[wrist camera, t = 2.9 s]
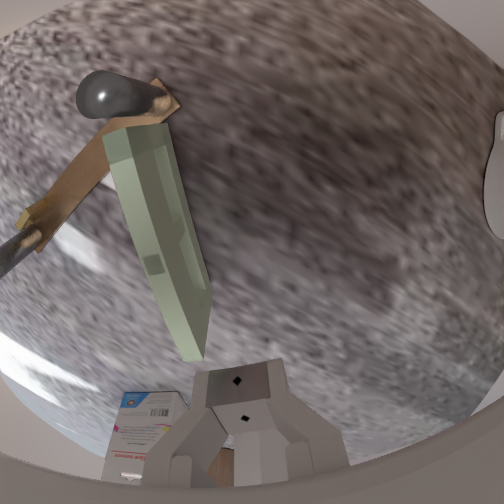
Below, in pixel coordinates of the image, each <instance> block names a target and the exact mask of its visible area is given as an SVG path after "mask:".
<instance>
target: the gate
mask: <svg viewBox="0 0 504 504" xmlns="http://www.w3.org/2000/svg"><path fill="white" fill-rule="evenodd" d="M102 139H103V143H104V147H105V151H106V155H107V159H108V162H109V166H110V170H111V173H112V177H113V180H114V184H115V187H116V190H117V194H118V197H119V200H120V203H121V206H122V210H123V213H124V216H125V219H126V222H127V225H128V228H129V231H130V234H131V236H132V239H133V242H134V245H135V248H136V250H137V253H138V256H139V259H140V261H141V264H142V267H143V269H144V272H145V274H146V277H147V279H148V282H149V284H150V287H151V289H152V292H153V294H154V297H155V299H156V301H157V304H158V306H159V309H160V311H161V313H162V316H163V318H164V320H165V322H166V325H167V327H168V329H169V331H170V333H171V336H172V338H173V340H174V342H175V344H176V346H177V349H178V351H179V353H180V355H181V357H182V359H183V361H184V362H188V361H198V360H203V359H204V351H205V344H206V337H207V330H208V323H209V316H210V309H211V303H212V296H213V290H212V287H211V283H210V280H209V277H208V274H207V270H206V267H205V264H204V260H203V257H202V253H201V250H200V246H199V243H198V239H197V236H196V232H195V229H194V225H193V222H192V218H191V214H190V211H189V207H188V203H187V200H186V196H185V192H184V188H183V185H182V181H181V177H180V173H179V169H178V165H177V161H176V157H175V153H174V149H173V145H172V140H171V136H170V132H169V128H168V123H160V124H149V125H139V126H130V127H124V128H122V129H119V130H116V131H113V132H111V133H108V134H105V135H103V136H102Z"/></svg>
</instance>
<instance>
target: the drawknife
mask: <svg viewBox="0 0 504 504" xmlns="http://www.w3.org/2000/svg"><path fill="white" fill-rule="evenodd" d="M76 104H77V108H78V110H79V111H80V113H81V114H82V115H83V116H85V117H87V118H90V119H99V118H112V119H111V120H110V121H109V122H108V123H107V124H106V125H105V126H104V127H103V128H102V129H101V130H100V131H99V132H98V133H97V134H96V135H95V136H94V137H93V138H92V139H91V141H90V142H89V143H88V144H87V145H86V146H85V147H84V148H83V149H82V151H81V152H80V153H79V154H78V155H77V156H76V158H75V159H74V160H73V161H72V162H71V163H70V165H69V166H68V167H67V168H66V170H65V171H64V172H63V173H62V175H61V176H60V177H59V178H58V180H57V181H56V182H55V183H54V185H53V186H52V187H51V189H50V190H49V191H48V193H47V194H46V195H45V197H44V198H43V199H42V200H40V201H38V202H37V203H35V204H33V205H31V206H29V207H28V208H26V209H25V210H24V212H23V213H22V215H21V216H20V218H19V220H18V221H17V223H16V224H15V226H16V227H17V228H18V230H19V231H21V230H22V231H21V232H20V233H18V234H17V235H15V236H14V237H12V238H11V239H10V240H8V241H7V242H6V243H4V244H3V245H1V246H0V279H1V278H3V277H4V276H5V275H6V274H7V273H8V272H9V271H10V270H11V269H13V268H14V267H15V266H16V265H17V264H18V263H19V262H21V261H22V260H23V259H24V258H25V257H26V256H28V255H29V254H30V253H31V252H32V251H34V250H35V251H36V252H37V253H38V254H39V253H40V252H41V251H42V250H43V249H44V247H45V246H46V245H47V243H48V242H49V241H50V239H51V238H52V237H53V236H54V234H55V233H56V232H57V231H58V229H59V228H60V227H61V226H62V224H63V223H64V222H65V221H66V220H67V218H68V217H69V216H70V215H71V214H72V212H73V211H74V210H75V209H76V208H77V207H78V205H79V204H80V203H81V202H82V201H83V200H84V199H85V198H86V196H87V195H88V194H89V193H90V192H91V191H92V190H93V189H94V188H95V187H96V186H97V185H98V183H99V182H100V181H101V180H102V179H103V178H104V177H105V176H106V175H107V174H108V173H109V172H110V171H111V170H110V166H109V162H108V159H107V155H106V151H105V147H104V143H103V139H102V136H103V135H105V134H108V133H111V132H113V131H116V130H119V129H122V128H124V127H130V126H139V125H149V124H160V123H163V122H164V121H165V120H166V119H168V118H169V117H170V116H171V115H172V114H174V113H175V112H176V111H177V110H179V109H180V108H181V107H182V106H181V104H180V103H179V102H178V101H177V99H176V98H175V97H174V96H173V95H172V93H171V92H170V91H169V90H168V89H167V87H166V86H165V85H164V84H163V83H162V81H161V80H160V79H159V78H155V79H154V80H153V81H152V82H151V83H150V84H148V83H145V82H142V81H139V80H136V79H132V78H129V77H126V76H122V75H119V74H115V73H112V72H108V71H103V70H100V71H95V72H93V73H91V74H89V75H88V76H86V77H85V78H84V79H83V81H82V82H81V83H80V85H79V87H78V90H77V93H76Z"/></svg>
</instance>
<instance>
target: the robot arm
mask: <svg viewBox="0 0 504 504" xmlns="http://www.w3.org/2000/svg"><path fill="white" fill-rule="evenodd" d="M484 206H485V213H486V218H487V221H488V224H489V226H490V228H491V230H492V232H493V233H494V234H495V235H496V236H497V237H498V238H500V239H502V240H504V111H502V112H499V113H498V114H497V116H496V122H495V141H494V145H493V149H492V152H491V155H490V158H489V161H488V165H487V169H486V175H485V183H484ZM274 428H276V429H277V430H278V431H279V432H280V433H281V434H282V435H283V436H284V437H285V438H286V440H287V441H288V442H289V443H290V444H288V446H287V447H286V448H285V454H286V463H287V471H288V480H287V481H281V482H274V483H266V484H258V485H249V486H238V487H222V488H218V484H217V483H216V482H215V481H214V480H213V479H212V478H211V477H210V476H209V475H208V474H207V473H206V471H207V470H208V468H209V467H210V465H211V464H212V462H213V460H214V459H215V457H216V456H217V454H218V452H219V451H220V449H221V448H222V446H223V444H224V443H225V441H226V439H227V438H228V435H233V434H240V433H246V432H252V431H260V430H267V429H274ZM0 504H504V396H503V397H501V398H500V399H498V400H496V401H495V402H493V403H492V404H490V405H489V406H487V407H485V408H484V409H482V410H480V411H479V412H477V413H475V414H474V415H472V416H470V417H468V418H466V419H465V420H463V421H461V422H459V423H457V424H455V425H453V426H451V427H449V428H447V429H445V430H443V431H441V432H439V433H437V434H435V435H433V436H431V437H429V438H426V439H424V440H422V441H420V442H417V443H415V444H413V445H410V446H408V447H405V448H403V449H400V450H398V451H395V452H393V453H390V454H387V455H384V456H381V457H378V458H375V459H372V460H369V461H367V462H363V463H360V464H356V465H353V466H350V464H349V460H348V456H347V453H346V449H345V446H344V442H343V439H342V435H341V432H340V431H339V430H338V429H336V428H335V427H334V426H333V425H331V424H330V423H329V422H327V421H326V420H325V419H323V418H322V417H321V416H320V415H318V414H317V413H316V412H315V411H313V410H312V409H311V408H310V407H308V406H307V405H306V404H305V403H303V402H302V401H301V400H300V399H298V398H297V397H296V396H295V395H294V394H291V393H290V389H289V385H288V380H287V376H286V372H285V368H284V364H283V360H282V358H278V359H273V360H269V361H264V362H259V363H254V364H249V365H244V366H239V367H234V368H227V369H220V370H212V371H207V372H198V373H196V374H195V376H194V383H193V391H192V398H191V406H190V409H189V410H186V411H185V412H184V413H183V414H182V415H181V416H180V417H179V418H178V420H177V421H176V422H175V423H174V424H173V425H172V426H171V427H170V429H169V430H168V431H167V432H166V433H165V434H164V435H163V436H162V437H161V439H160V440H159V441H158V442H157V443H156V444H155V445H154V446H153V447H152V448H151V450H150V451H149V452H148V453H147V454H146V457H145V462H144V468H143V473H142V479H141V485H140V486H138V485H128V484H120V483H113V482H107V481H100V480H95V479H90V478H84V477H80V476H76V475H71V474H67V473H62V472H59V471H55V470H51V469H48V468H45V467H41V466H38V465H35V464H31V463H29V462H26V461H23V460H20V459H17V458H14V457H12V456H9V455H6V454H4V453H1V452H0Z"/></svg>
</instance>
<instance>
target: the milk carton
mask: <svg viewBox="0 0 504 504" xmlns="http://www.w3.org/2000/svg"><path fill="white" fill-rule="evenodd" d="M288 444H290V443H289V442H288V441H287V440H286V438H285V437H284V436H283V435H282V434H281V433H280V432H279V431H278V430H277V429H276V428H274V429H267V430H260V431H252V432H246V433H240V434H234V487H238V486H249V485H258V484H266V483H274V482H281V481H287V480H288V471H287V463H286V454H285V448H286V447H287V446H288Z"/></svg>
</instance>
